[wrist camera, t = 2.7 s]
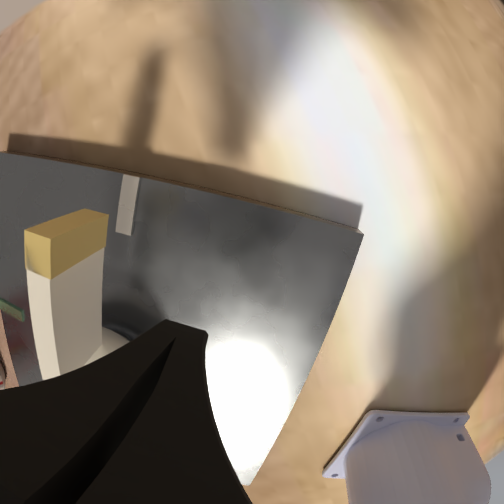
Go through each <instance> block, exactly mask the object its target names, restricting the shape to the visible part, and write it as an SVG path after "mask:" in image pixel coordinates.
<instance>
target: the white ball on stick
mask: <svg viewBox="0 0 504 504" xmlns="http://www.w3.org/2000/svg"><path fill="white" fill-rule="evenodd" d="M108 218H109V215H108V214H104V213H101V212H97V211H93V210H89V209H85V208H84V209H81V210H78V211H75V212H72V213H69V214H66V215H64V216H61V217H58V218H55V219H52V220H49V221H47V222H44V223H41V224H38V225H36V226H33V227H30V228H28V229H25V230H24V245H25V269H26V270H27V285H28V296H29V305H30V314H31V321H32V328H33V334H34V340H35V346H36V351H37V356H38V361H39V366H40V370H41V375H42V379H43V380H47V379H50V378H54V377H57V376H60V375H63V374H65V373H68V372H71V371H73V370H76V369H78V368H80V367H83V366H85V365H87V364H89V363H91V362H93V361H95V360H97V359H99V358H101V357H103V356H105V355H107V354H109V353H111V352H113V351H115V350H116V349H118V348H120V347H122V346H123V345H125V344H127V343H128V342H130V341H128V340H127V339H126V338H124V337H123V336H121V335H119V334H118V333H116V332H114V331H112V330H110V329H107V328H105V327H102V280H103V261H104V247H106V237H107V227H108Z"/></svg>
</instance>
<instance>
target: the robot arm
mask: <svg viewBox="0 0 504 504" xmlns="http://www.w3.org/2000/svg"><path fill="white" fill-rule="evenodd" d="M208 336H209V335H208V333H207V332H206V331H205V330H202V329H198V328H195V327H191V326H188V325H184V324H181V323H178V322H174V321H171V320H168V319H165V320H163V321H161V322H159V323H158V324H156V325H155V326H153V327H152V328H150V329H149V330H147V331H146V332H144V333H143V334H141V335H140V336H138V337H136V338H135V339H133V340H132V341H130V342H128V343H127V344H125V345H123V346H122V347H120V348H118V349H116V350H115V351H113V352H111V353H109V354H107V355H105V356H103V357H101V358H99V359H97V360H95V361H93V362H91V363H89V364H87V365H85V366H83V367H80V368H78V369H76V370H73V371H71V372H68V373H65V374H63V375H60V376H57V377H54V378H50V379H47V380H43V381H39V382H35V383H32V384H28V385H24V386H19V387H14V388H8V389H2V390H0V504H252V502H251V500H250V499H249V497H248V495H247V493H246V492H245V490H244V488H243V486H242V484H241V482H240V480H239V478H238V476H237V474H236V472H235V470H234V468H233V466H232V464H231V461H230V459H229V457H228V455H227V452H226V450H225V447H224V444H223V442H222V439H221V436H220V433H219V430H218V427H217V424H216V421H215V417H214V413H213V409H212V405H211V400H210V395H209V390H208V383H207V374H206V362H205V351H206V345H207V340H208ZM378 417H379V418H378ZM469 418H470V416H469V414H468V413H467V412H463V413H424V412H399V411H384V410H371V411H369V412H367V413H366V414H365V416H364V417H363V419H362V420H361V422H360V423H359V425H358V426H357V427H356V429H355V430H354V432H353V433H352V434H351V436H350V437H349V438H348V440H347V441H346V442H345V444H344V445H343V446H342V448H341V449H340V450H339V452H338V453H337V454H336V455H335V457H334V458H333V459H332V460H331V462H330V463H329V464H328V465H327V466H326V468H325V469H324V470H323V471H322V476H323V477H325V478H345V480H346V487H347V494H348V502H349V504H488V503H489V500H490V495H491V480H490V477H489V474H488V472H487V470H486V467H485V465H484V463H483V461H482V459H481V457H480V455H479V453H478V451H477V449H476V447H475V445H474V443H473V441H472V439H471V437H470V435H469V434H468V432H467V430H466V428H465V426H464V425H465V423H466V422H467V421H468V419H469Z"/></svg>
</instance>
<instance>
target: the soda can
mask: <svg viewBox="0 0 504 504" xmlns="http://www.w3.org/2000/svg"><path fill="white" fill-rule="evenodd" d="M2 389H5V373H4V369H3V367H2V364H1V362H0V390H2Z"/></svg>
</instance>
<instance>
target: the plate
mask: <svg viewBox="0 0 504 504" xmlns="http://www.w3.org/2000/svg"><path fill="white" fill-rule="evenodd" d="M84 208H85V209H89V210H93V211H97V212H101V213H104V214H108V215H109V218H108V227H107V237H106V247H104V261H103V280H102V327H105V328H107V329H110V330H112V331H114V332H116V333H118V334H119V335H121V336H123V337H124V338H126V339H127V340H128V341H132V340H133V339H135V338H136V337H138V336H140V335H141V334H143V333H144V332H146V331H147V330H149V329H150V328H152V327H153V326H155V325H156V324H158V323H159V322H161V321H163V320H165V319H168V320H171V321H174V322H178V323H181V324H184V325H188V326H191V327H195V328H198V329H202V330H205V331H206V332H207V333H208V335H209V336H208V340H207V345H206V351H205V362H206V374H207V383H208V390H209V395H210V400H211V405H212V409H213V413H214V417H215V421H216V424H217V427H218V430H219V433H220V436H221V439H222V442H223V444H224V447H225V450H226V452H227V455H228V457H229V459H230V461H231V464H232V466H233V468H234V470H235V472H236V474H237V476H238V478H239V480H240V482H241V484H244V485H250V484H251V482H252V480H253V479H254V477H255V475H256V474H257V472H258V470H259V468H260V467H261V465H262V463H263V462H264V460H265V458H266V456H267V455H268V453H269V451H270V449H271V447H272V446H273V444H274V442H275V440H276V438H277V436H278V435H279V433H280V431H281V429H282V427H283V425H284V423H285V421H286V419H287V417H288V415H289V414H290V412H291V410H292V408H293V406H294V404H295V402H296V400H297V398H298V395H299V393H300V391H301V389H302V387H303V385H304V383H305V381H306V379H307V377H308V375H309V372H310V370H311V368H312V366H313V364H314V361H315V359H316V357H317V355H318V352H319V350H320V348H321V346H322V343H323V341H324V339H325V336H326V334H327V332H328V329H329V327H330V324H331V322H332V320H333V317H334V315H335V312H336V310H337V307H338V305H339V302H340V300H341V297H342V294H343V292H344V289H345V287H346V284H347V281H348V279H349V276H350V273H351V270H352V268H353V265H354V262H355V259H356V256H357V253H358V251H359V248H360V245H361V242H362V239H363V236H364V234H363V233H362V232H361V231H360V230H358V229H356V228H353V227H349V226H346V225H343V224H339V223H336V222H333V221H329V220H326V219H322V218H319V217H315V216H312V215H308V214H304V213H301V212H297V211H294V210H290V209H286V208H283V207H279V206H275V205H271V204H267V203H264V202H260V201H256V200H252V199H248V198H244V197H240V196H236V195H232V194H228V193H224V192H220V191H216V190H211V189H207V188H203V187H199V186H194V185H190V184H186V183H181V182H177V181H172V180H168V179H163V178H158V177H154V176H149V175H144V174H139V173H134V172H129V171H124V170H119V169H114V168H109V167H104V166H98V165H93V164H87V163H82V162H76V161H70V160H64V159H58V158H52V157H46V156H40V155H33V154H26V153H19V152H12V151H1V152H0V309H1V313H2V319H3V324H4V329H5V334H6V338H7V343H8V347H9V351H10V355H11V359H12V363H13V366H14V370H15V373H16V377H17V380H18V383H19V386H24V385H28V384H32V383H35V382H39V381H43V379H42V375H41V370H40V366H39V361H38V356H37V351H36V346H35V340H34V334H33V328H32V321H31V314H30V305H29V296H28V285H27V270H26V269H25V245H24V230H25V229H28V228H30V227H33V226H36V225H38V224H41V223H44V222H47V221H49V220H52V219H55V218H58V217H61V216H64V215H66V214H69V213H72V212H75V211H78V210H81V209H84Z"/></svg>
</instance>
